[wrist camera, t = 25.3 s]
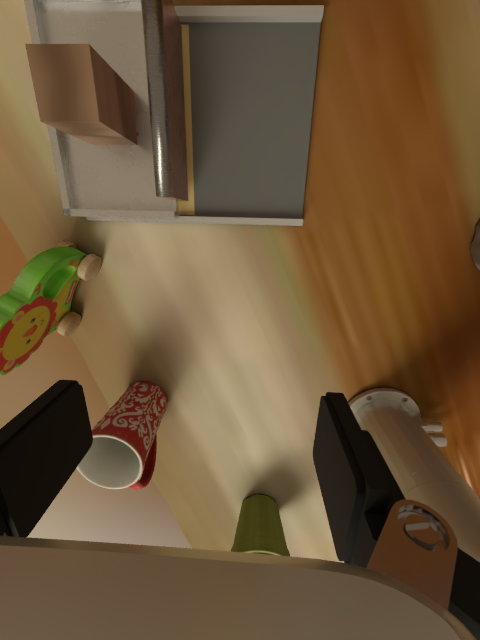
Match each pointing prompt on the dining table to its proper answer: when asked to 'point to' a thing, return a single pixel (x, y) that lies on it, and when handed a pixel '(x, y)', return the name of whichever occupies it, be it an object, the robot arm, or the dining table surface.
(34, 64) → the walnut block
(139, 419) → the mug
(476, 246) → the plant pot
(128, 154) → the grey l-shaped piece
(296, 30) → the grey flat rectangular piece
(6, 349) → the toy lion
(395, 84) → the dining table surface
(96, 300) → the dining table surface
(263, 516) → the plant pot
